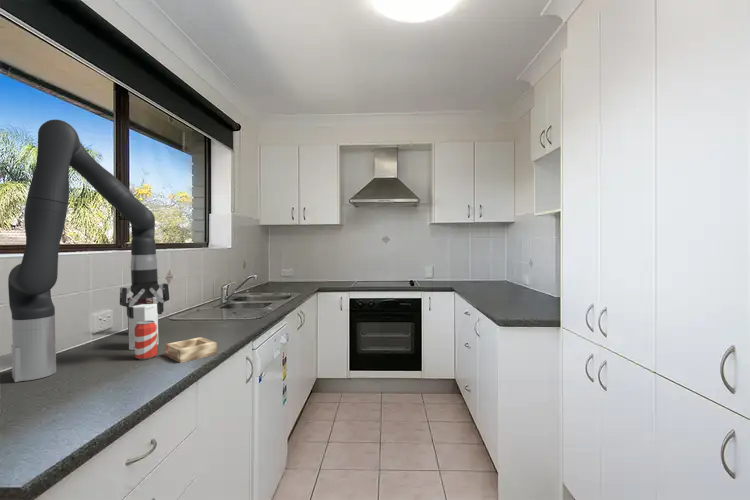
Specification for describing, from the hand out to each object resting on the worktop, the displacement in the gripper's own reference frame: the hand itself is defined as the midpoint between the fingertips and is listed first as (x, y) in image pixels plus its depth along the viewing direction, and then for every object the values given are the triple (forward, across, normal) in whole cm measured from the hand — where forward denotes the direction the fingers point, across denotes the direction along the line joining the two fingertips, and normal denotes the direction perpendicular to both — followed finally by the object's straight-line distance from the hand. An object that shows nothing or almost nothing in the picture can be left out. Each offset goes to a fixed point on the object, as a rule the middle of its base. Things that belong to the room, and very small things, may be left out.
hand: (146, 316), depth 125 cm
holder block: (+14, +10, -9) cm, 20 cm away
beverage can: (+14, 0, 0) cm, 14 cm away
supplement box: (+14, +10, +37) cm, 41 cm away
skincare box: (+14, +4, +15) cm, 21 cm away
